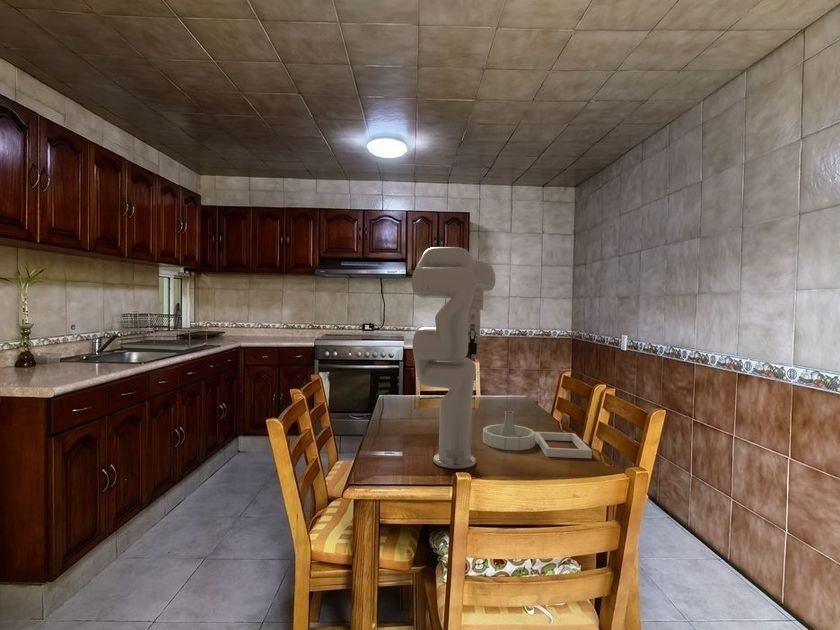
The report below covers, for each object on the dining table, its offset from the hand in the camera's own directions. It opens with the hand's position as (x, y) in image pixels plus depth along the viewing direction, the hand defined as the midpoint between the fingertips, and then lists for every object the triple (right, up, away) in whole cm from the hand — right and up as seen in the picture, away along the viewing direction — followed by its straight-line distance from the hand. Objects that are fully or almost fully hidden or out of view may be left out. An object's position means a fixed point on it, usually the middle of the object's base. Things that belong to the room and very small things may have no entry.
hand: (471, 352), depth 168 cm
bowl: (+12, -30, -7) cm, 33 cm away
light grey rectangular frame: (+29, -31, -12) cm, 44 cm away
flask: (+12, -30, -7) cm, 33 cm away
